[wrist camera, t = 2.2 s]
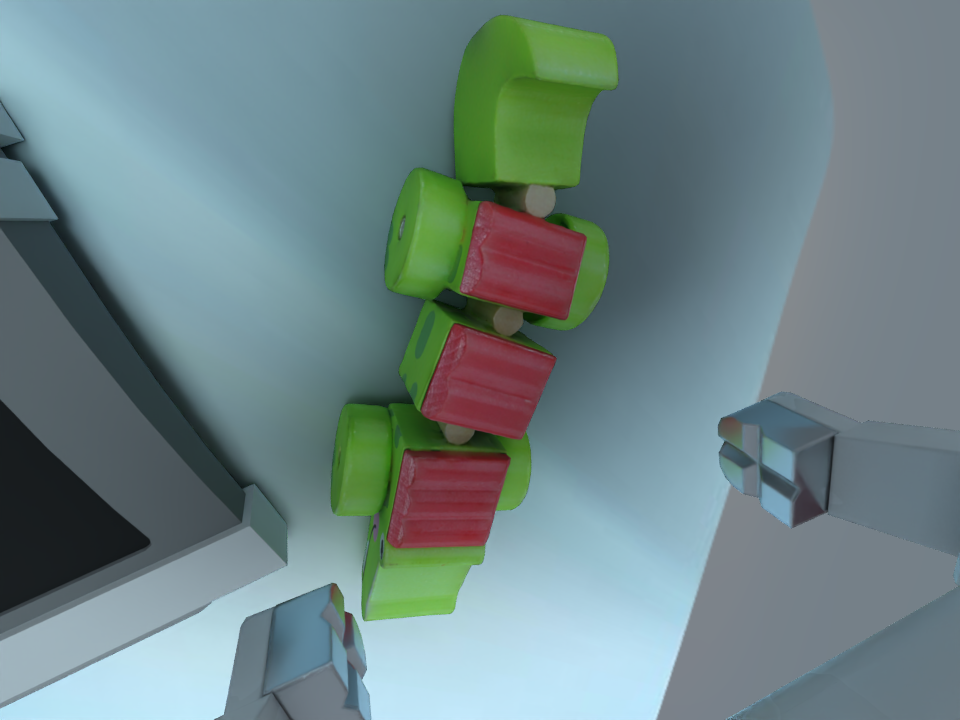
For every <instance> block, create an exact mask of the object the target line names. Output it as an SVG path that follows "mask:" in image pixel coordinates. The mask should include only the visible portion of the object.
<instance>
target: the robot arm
mask: <svg viewBox="0 0 960 720" xmlns="http://www.w3.org/2000/svg"><path fill="white" fill-rule="evenodd" d="M718 436H719V437H720V438H721V439H723V440H724V443H723V445H722V447H721V449H720V451H719V462H720V467H721V469H722V471H723V473H724V475H725V477H726V479H727V480H728V481H729V482H730V483H731V485H732V486H733V487H735V488H736V489H737V490H739V491H740V492H741V493H743V494H745V495H749V496H753V497H757V498H759V500H760V503H761V507H762V508H763V509H765V510H766V511H767V512H769V513H770V514H772V515H773V516H774V517H776V518H777V519H779V520H780V521H781V522H783V523H784V524H786V525H787V526H788V527H790V528H793V527H796V526H798V525H800V524H802V523H804V522H807V521H809V520H811V519H814V518H815V517H818V516H820V515H822V514H824V513H827V512H828V515H831V516H834V517H837V518H840V519H843V520H846V521H849V522H852V523H855V524H858V525H862V526H865V527H868V528H871V529H874V530H877V531H880V532H883V533H887V534H889V535H892V536H895V537H898V538H902V539H905V540H908V541H911V542H914V543H917V544H920V545H923V546H926V547H929V548H932V549H935V550H939V551H941V552H945V553H948V554H951V555H954V556H957V557H958V558H957V562H956V566H955V570H954V574H953V577H954V580H955V583H956V584H957V585H958V587H956V588H955V589H953V590H951V591H949V592H948V593H946V594H945V595H942V596H941V597H939V598H937V599H935V600H934V601H932V602H930V603H928V604H927V605H925V606H923V607H921V608H920V609H918V610H916V611H914V612H913V613H911V614H909V615H907V616H906V617H904V618H902V619H900V620H899V621H897V622H895V623H893V624H892V625H890V626H888V627H886V628H885V629H883V630H881V631H879V632H878V633H876V634H874V635H873V636H871V637H869V638H867V639H866V640H864V641H862V642H860V643H858V644H857V645H855V646H853V647H851V648H850V649H848V650H846V651H845V652H843V653H841V654H839V655H837V656H836V657H834V658H832V659H830V660H829V661H827V662H826V663H823V664H822V665H820V666H818V667H816V668H815V669H813V670H811V671H809V672H808V673H806V674H804V675H803V676H801V677H799V678H797V679H795V680H794V681H792V682H790V683H788V684H787V685H785V686H783V687H782V688H780V689H778V690H776V691H774V692H773V693H771V694H769V695H767V696H766V697H764V698H762V699H760V700H759V701H757V702H755V703H753V704H752V705H750V706H748V707H746V708H745V709H743V710H741V711H740V712H738V713H736V714H734V715H733V716H731V717H729V718H727V719H726V720H960V431H957V430H948V429H938V428H931V427H922V426H912V425H904V424H894V423H886V422H876V421H869V420H868V421H866V422H863V423H861V422H858V421H856V420H854V419H851V418H849V417H847V416H844V415H842V414H839V413H837V412H835V411H832V410H830V409H828V408H826V407H823V406H821V405H819V404H816V403H814V402H812V401H809V400H807V399H805V398H802V397H800V396H798V395H795V394H793V393H790V392H779V393H777V394H775V395H772V396H770V397H768V398H766V399H763V400H761V402H757V403H755V404H753V405H751V406H748V407H746V408H744V409H741V410H739V411H737V412H734V413H732V414H730V415H727V416H725V417H723V418H721V420H720V422H719V424H718ZM366 670H367V665H366V656H365V650H364V646H363V641H362V637H361V634H360V631H359V628H358V625H357V623H356V621H355V619H354V617H353V615H352V614H351V613H348V612H345V611H344V597H343V595H342V593H341V591H340V590H339V588H338V586H337V584H335V583H331V584H328V585H326V586H323V587H321V588H318V589H315V590H313V591H310V592H308V593H305V594H303V595H300V596H298V597H295V598H293V599H290V600H288V601H285V602H283V603H280V604H278V605H276V606H275V607H272V608H269V609H267V610H264V611H262V612H259V613H257V614H254V615H252V616H249V617H246V619H245V620H244V622H243V624H242V625H241V628H240V633H239V639H238V644H237V649H236V654H235V660H234V665H233V670H232V675H231V681H230V686H229V691H228V696H227V701H226V707H225V712H224V715H222V716H220V717H218V718H216V719H214V720H371V709H370V697H369V693H368V691H367V689H366V687H365V685H364V684H363V682H362V679H363V677H364V674H365V672H366Z"/></svg>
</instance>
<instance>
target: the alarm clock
mask: <svg viewBox="0 0 960 720" xmlns="http://www.w3.org/2000/svg"><path fill="white" fill-rule="evenodd" d="M23 140H24V139H23V137H22V136H21V134H20V133H19V131H18V129H17V128H16V126H15V125H14V123H13V122H12V120H11V118H10V117H9V115H8V114H7V112H6V111H5V109H4V108H3V106H2V104H1V103H0V708H2V707H4V706H6V705H9V704H11V703H13V702H15V701H17V700H19V699H21V698H23V697H25V696H27V695H29V694H31V693H33V692H35V691H38V690H40V689H42V688H44V687H46V686H48V685H50V684H52V683H54V682H56V681H58V680H60V679H62V678H65V677H67V676H69V675H71V674H73V673H75V672H77V671H79V670H81V669H83V668H85V667H87V666H89V665H91V664H94V663H96V662H98V661H100V660H102V659H104V658H106V657H108V656H110V655H112V654H114V653H116V652H118V651H120V650H123V649H125V648H127V647H129V646H131V645H133V644H135V643H137V642H139V641H141V640H143V639H145V638H147V637H150V636H152V635H154V634H156V633H158V632H160V631H162V630H164V629H166V628H168V627H170V626H172V625H174V624H176V623H179V622H181V621H183V620H185V619H187V618H189V617H191V616H193V615H195V614H197V613H199V612H201V611H202V610H203V609H204V608H206V607H207V606H208V605H209V604H211V602H212V601H214V600H216V599H218V598H220V597H222V596H224V595H227V594H229V593H231V592H233V591H235V590H237V589H239V588H241V587H243V586H245V585H247V584H249V583H251V582H254V581H256V580H258V579H260V578H262V577H264V576H266V575H268V574H270V573H272V572H274V571H276V570H279V569H281V568H283V567H285V566H287V524H286V522H285V521H284V520H283V519H282V517H281V516H280V515H279V514H278V512H277V511H276V510H275V509H274V507H273V506H272V505H271V504H270V502H269V501H268V500H267V499H266V497H265V496H264V495H263V494H262V492H261V491H260V490H259V489H258V487H257V486H256V485H255V484H252V485H250V486H248V487H246V488H243V489H241V487H240V486H239V485H238V484H237V483H236V481H235V480H234V479H233V478H232V477H231V475H230V474H229V473H228V472H227V471H226V469H225V468H224V467H223V466H222V464H221V463H220V462H219V461H218V460H217V458H216V457H215V456H214V455H213V454H212V452H211V451H210V450H209V449H208V448H207V446H206V445H205V444H204V443H203V441H202V440H201V439H200V437H199V436H198V435H197V433H196V432H195V431H194V429H193V428H192V427H191V426H190V424H189V423H188V422H187V420H186V419H185V418H184V416H183V415H182V414H181V412H180V411H179V410H178V408H177V407H176V406H175V405H174V403H173V402H172V401H171V399H170V398H169V397H168V395H167V394H166V393H165V391H164V390H163V389H162V387H161V386H160V385H159V383H158V382H157V380H156V379H155V378H154V376H153V375H152V373H151V372H150V370H149V369H148V368H147V366H146V365H145V363H144V362H143V360H142V359H141V358H140V356H139V355H138V353H137V352H136V350H135V349H134V348H133V346H132V345H131V343H130V342H129V340H128V339H127V338H126V336H125V335H124V333H123V332H122V330H121V329H120V328H119V326H118V325H117V323H116V322H115V320H114V319H113V318H112V316H111V315H110V313H109V312H108V310H107V309H106V307H105V306H104V304H103V303H102V301H101V300H100V298H99V297H98V295H97V294H96V292H95V291H94V289H93V288H92V286H91V285H90V283H89V282H88V280H87V278H86V277H85V275H84V274H83V272H82V271H81V269H80V268H79V266H78V265H77V263H76V262H75V260H74V259H73V257H72V256H71V254H70V253H69V251H68V250H67V248H66V247H65V245H64V244H63V242H62V241H61V239H60V238H59V236H58V235H57V233H56V232H55V230H54V229H53V227H52V225H51V224H50V221H53V220H56V219H58V217H57V216H56V214H55V213H54V211H53V210H52V208H51V207H50V205H49V204H48V202H47V201H46V199H45V197H44V196H43V194H42V193H41V191H40V190H39V188H38V187H37V185H36V184H35V182H34V181H33V179H32V178H31V176H30V174H29V173H28V171H27V170H26V168H25V167H24V165H23V164H22V162H20V161H15V160H10V159H7V157H6V156H5V154H4V153H3V151H2V150H1V147H4V146H7V145H10V144H14V143H17V142H20V141H23Z"/></svg>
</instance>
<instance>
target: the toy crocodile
mask: <svg viewBox="0 0 960 720" xmlns="http://www.w3.org/2000/svg"><path fill="white" fill-rule="evenodd" d="M618 81H619V79H618V65H617V57H616V52H615V48H614V45H613V43H612V41H611V40H610V39H609V38H608V37H607V36H605V35H603V34H599V33H593V32H588V31H583V30H578V29H573V28H568V27H563V26H558V25H552V24H547V23H543V22H538V21H533V20H528V19H523V18H518V17H513V16H508V15H499V16H496V17H493V18H492V19H490V20H489V21H488V22H486V23H485V24H484V25H483V26H482V27H481V28H480V30H479V31H478V32H477V33H476V34H475V35H474V36H473V37H472V39H471V40H470V42H469V43H468V45H467V47H466V49H465V52H464V55H463V59H462V62H461V66H460V70H459V75H458V80H457V86H456V94H455V104H454V149H455V172H456V180H455V179H452V178H450V177H447V176H445V175H442V174H439V173H436V172H433V171H430V170H428V169H425V168H415V169H413V170H412V171H411V172H410V174H409V176H408V177H407V179H406V181H405V183H404V185H403V188H402V190H401V193H400V196H399V198H398V201H397V204H396V207H395V210H394V213H393V217H392V222H391V226H390V231H389V235H388V241H387V248H386V254H385V264H384V271H385V283H386V286H387V288H388V289H389V290H390V291H392V292H395V293H399V294H403V295H407V296H412V297H417V298H421V299H425V302H424V305H423V307H422V310H421V312H420V315H419V318H418V320H417V323H416V326H415V329H414V331H413V334H412V336H411V339H410V341H409V344H408V347H407V349H406V352H405V355H404V358H403V360H402V363H401V364H400V367H399V375H400V376H401V378H402V380H403V382H404V384H405V386H406V388H407V390H408V392H409V394H410V395H411V398H412V400H413V402H414V404H403V403H391V404H389V406H388V408H385V407H382V406H378V405H365V404H346V405H345V406H344V407H343V409H342V412H341V415H340V418H339V422H338V428H337V433H336V439H335V447H334V454H333V463H332V473H331V507H332V511H333V513H334V514H335V515H337V516H371V519H370V525H369V531H368V538H367V543H366V549H365V554H364V560H363V566H362V601H361V606H362V617H363V620H364V621H372V620H382V619H393V618H404V617H415V616H426V615H440V614H450V613H452V612H453V611H454V609H455V604H456V599H457V595H458V591H459V589H460V587H461V586H462V584H463V582H464V579H465V577H466V575H467V573H468V571H469V569H470V567H471V565H479V564H481V563H482V562H483V559H484V556H485V543H486V541H487V539H488V537H489V533H490V529H491V526H492V522H493V519H494V514H495V511H499V510H512V509H514V508H516V507H517V506H519V505H520V504H521V502H522V501H523V499H524V498H525V495H526V493H527V490H528V487H529V481H530V475H531V449H530V444H529V439H528V435H527V432H526V430H527V427H528V425H529V422H530V420H531V418H532V415H533V413H534V411H535V409H536V406H537V404H538V402H539V399H540V397H541V395H542V392H543V390H544V388H545V385H546V383H547V380H548V378H549V376H550V373H551V371H552V369H553V367H554V365H555V362H556V359H557V358H556V357H555V356H553V354H552V353H550V352H549V351H548V350H546V349H545V348H543V347H542V346H540V345H539V344H537V343H535V342H534V341H532V340H531V339H529V338H528V337H527V336H526V335H524V334H523V333H521V332H520V331H518V330H519V329H520V327H521V326H522V325H523V319H524V320H526V321H527V322H529V323H530V324H532V325H535V326H540V327H545V328H550V329H556V330H570V329H573V328H575V327H577V326H578V325H580V324H581V323H582V322H583V321H585V320H586V318H587V317H588V316H589V315H590V314H591V312H592V311H593V310H594V308H595V306H596V305H597V303H598V301H599V299H600V297H601V295H602V292H603V289H604V286H605V283H606V279H607V275H608V269H609V246H608V242H607V238H606V236H605V234H604V232H603V230H602V229H601V228H600V227H599V226H597V225H596V224H595V223H593V222H590V221H587V220H584V219H580V218H577V217H574V216H570V215H567V214H562V213H560V214H554V215H551V216H549V217H548V218H546V219H545V217H546V216H547V215H549V214H550V213H551V212H552V211H553V209H554V207H555V203H556V195H555V191H554V190H558V189H565V188H571V187H575V186H577V185H578V184H579V182H580V168H581V158H582V150H583V141H584V133H585V128H586V122H587V118H588V115H589V112H590V109H591V106H592V104H593V102H594V100H595V98H596V97H597V96H598V95H599V93H600V92H601V91H603V90H614V89H616V88H617V86H618ZM463 186H468V187H479V188H491V189H492V190H493V192H494V193H495V196H494V202H491V201H475V200H471V199H469V198H468V196H467V195H466V193H465V190H464V188H463ZM544 219H545V220H544ZM445 289H448V290H449V291H455V292H456V293H458V294H460V295H463V296H466V297H467V303H466V306H465V307H464V308H463V309H459V308H457V307H454V306H451V305H448V304H445V303H443V302H440V301H437V300H434V299H435V298H436V297H438V296H439V294H440V293H441V292H442V291H443V290H445Z"/></svg>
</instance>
